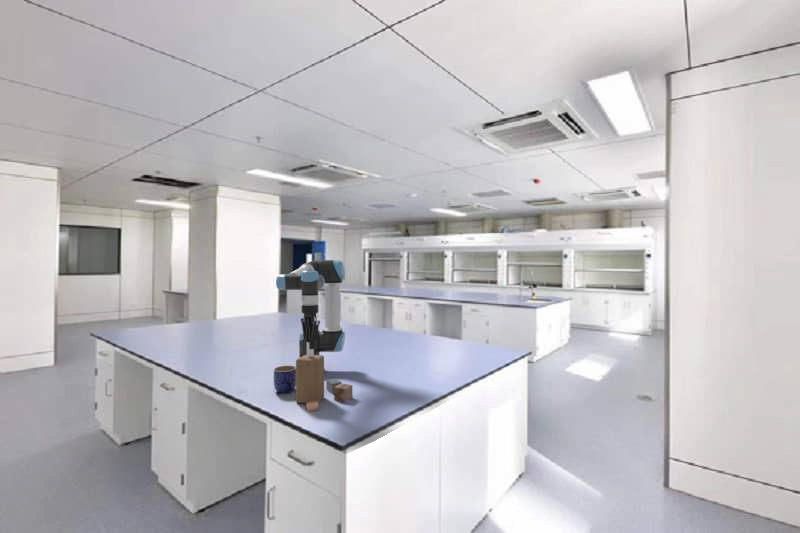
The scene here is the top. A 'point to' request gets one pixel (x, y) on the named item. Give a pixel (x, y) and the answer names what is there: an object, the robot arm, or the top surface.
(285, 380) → the planter
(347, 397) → the walnut cube
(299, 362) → the wooden block
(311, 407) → the terracotta puck
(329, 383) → the gray block
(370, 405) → the top surface
